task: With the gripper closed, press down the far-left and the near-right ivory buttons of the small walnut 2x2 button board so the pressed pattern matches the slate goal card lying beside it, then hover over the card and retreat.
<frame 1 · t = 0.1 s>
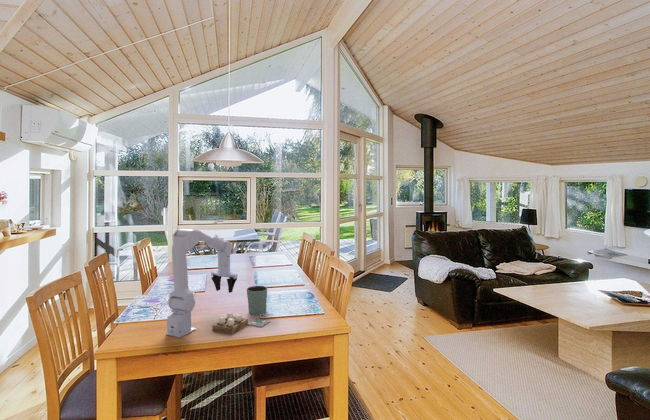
hand: (224, 291, 179), 10 cm above the table, fingers open, 7 cm apart
button near right: (230, 322, 155), point 3 cm above the table, slide at 0.0 cm
grey cup: (257, 312, 178), on the table
board: (230, 327, 159), on the table
goal card: (259, 323, 164), on the table
button far left: (229, 316, 162), point 4 cm above the table, slide at 0.0 cm
button near left: (221, 321, 157), point 4 cm above the table, slide at 0.0 cm
button far right: (238, 318, 160), point 3 cm above the table, slide at 0.0 cm
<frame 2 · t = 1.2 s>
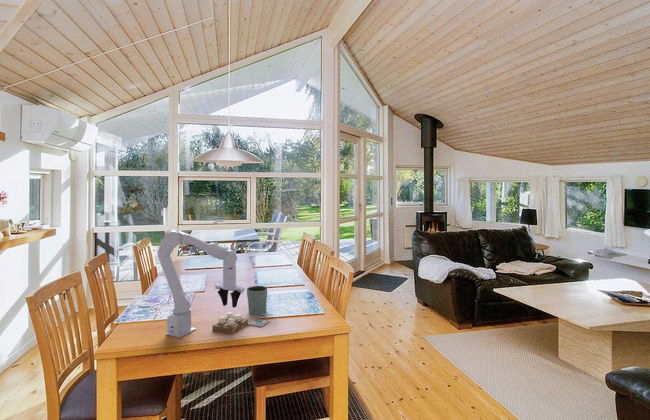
hand: (229, 306, 162), 8 cm above the table, fingers open, 5 cm apart
nothing on the table moved.
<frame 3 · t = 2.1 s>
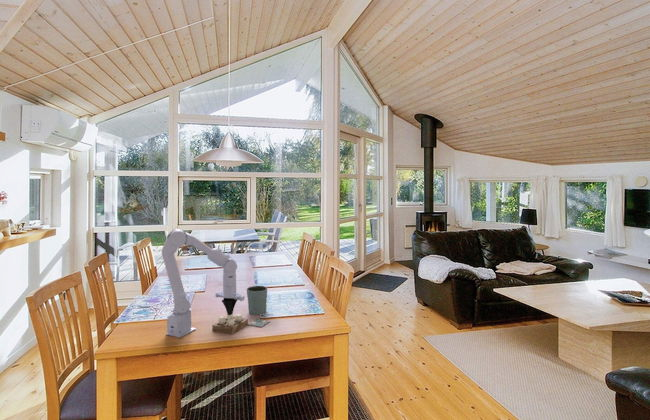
hand: (230, 314, 162), 5 cm above the table, fingers closed, pressing on button far left
button far left: (230, 317, 162), point 3 cm above the table, slide at 0.4 cm, touching gripper
everything else where it was.
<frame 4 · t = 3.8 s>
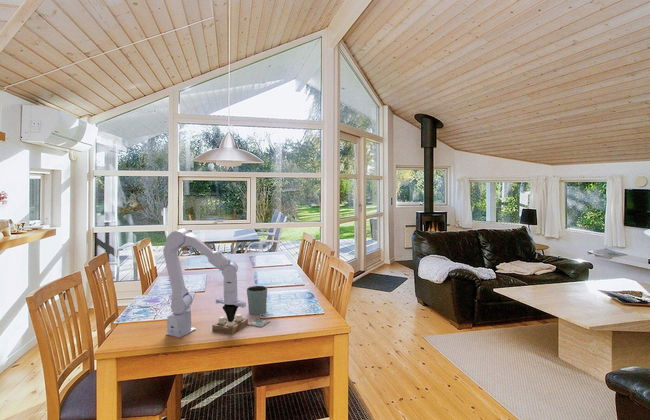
hand: (231, 321, 155), 4 cm above the table, fingers closed, pressing on button near right
button near right: (230, 324, 155), point 3 cm above the table, slide at 0.8 cm, touching gripper
button far left: (230, 319, 162), point 2 cm above the table, slide at 1.3 cm
everything else where it was.
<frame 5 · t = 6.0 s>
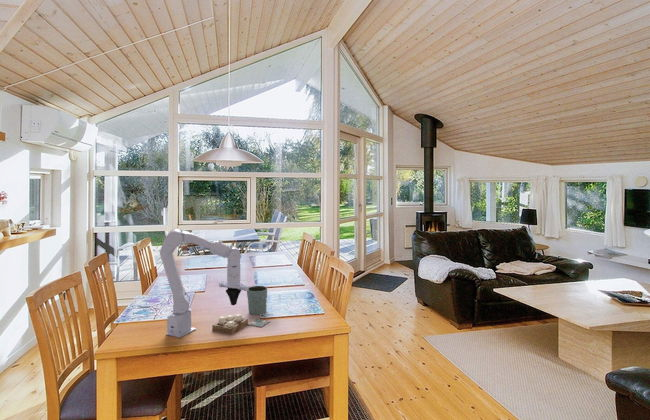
hand: (233, 304, 160), 10 cm above the table, fingers closed
button near right: (230, 325, 155), point 2 cm above the table, slide at 1.3 cm
everything else where it was.
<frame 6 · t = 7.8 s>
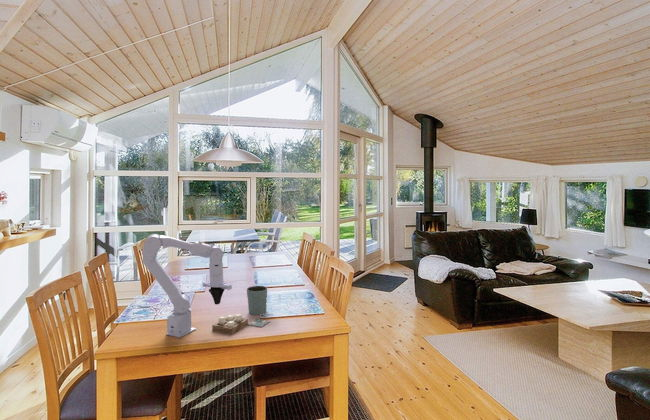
hand: (217, 303, 159), 10 cm above the table, fingers closed
nothing on the table moved.
at the end: button far left slide at 1.3 cm; button near right slide at 1.3 cm; button far right slide at 0.0 cm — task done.
